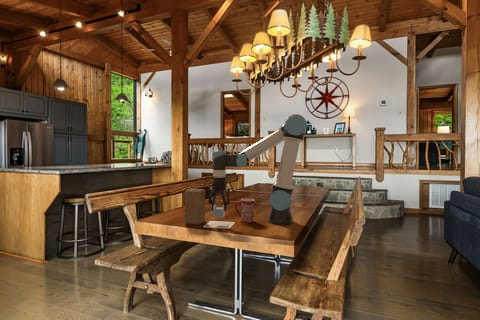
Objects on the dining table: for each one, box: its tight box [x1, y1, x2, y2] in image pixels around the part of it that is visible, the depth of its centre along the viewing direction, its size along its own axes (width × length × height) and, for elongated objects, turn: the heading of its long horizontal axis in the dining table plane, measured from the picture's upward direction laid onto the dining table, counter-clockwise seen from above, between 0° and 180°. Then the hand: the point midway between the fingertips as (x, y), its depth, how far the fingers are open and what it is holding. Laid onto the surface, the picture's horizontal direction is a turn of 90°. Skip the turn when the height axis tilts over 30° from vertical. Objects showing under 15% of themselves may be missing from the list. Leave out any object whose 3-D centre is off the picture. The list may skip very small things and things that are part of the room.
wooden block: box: [184, 188, 206, 226], centre depth 169 cm, size 10×10×20 cm
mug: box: [234, 198, 255, 223], centre depth 173 cm, size 13×9×14 cm
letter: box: [202, 220, 236, 230], centre depth 164 cm, size 16×14×1 cm
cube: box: [213, 206, 224, 219], centre depth 164 cm, size 5×5×5 cm
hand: (219, 215), depth 164 cm, fingers closed on cube, 5 cm apart
